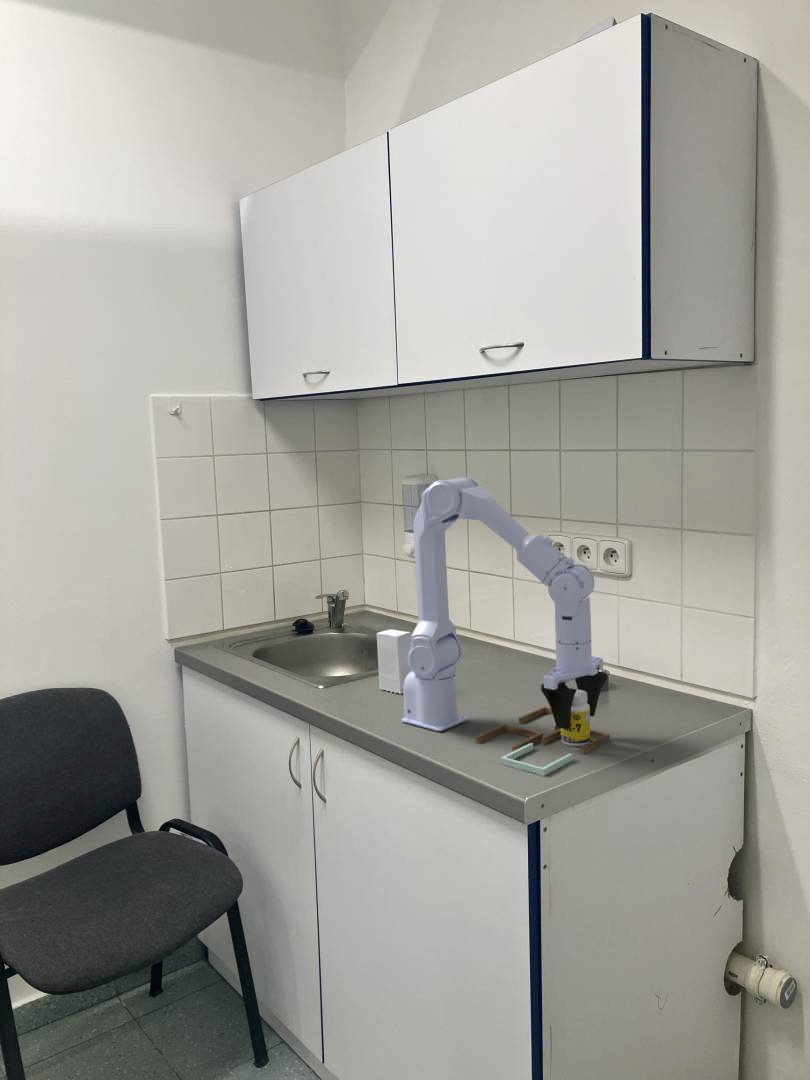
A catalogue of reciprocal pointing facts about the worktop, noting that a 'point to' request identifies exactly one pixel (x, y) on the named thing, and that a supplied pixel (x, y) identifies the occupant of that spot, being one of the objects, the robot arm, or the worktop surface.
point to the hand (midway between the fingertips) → (575, 721)
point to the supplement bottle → (578, 722)
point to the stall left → (535, 714)
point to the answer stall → (543, 771)
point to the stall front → (601, 739)
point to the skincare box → (393, 659)
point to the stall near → (533, 734)
